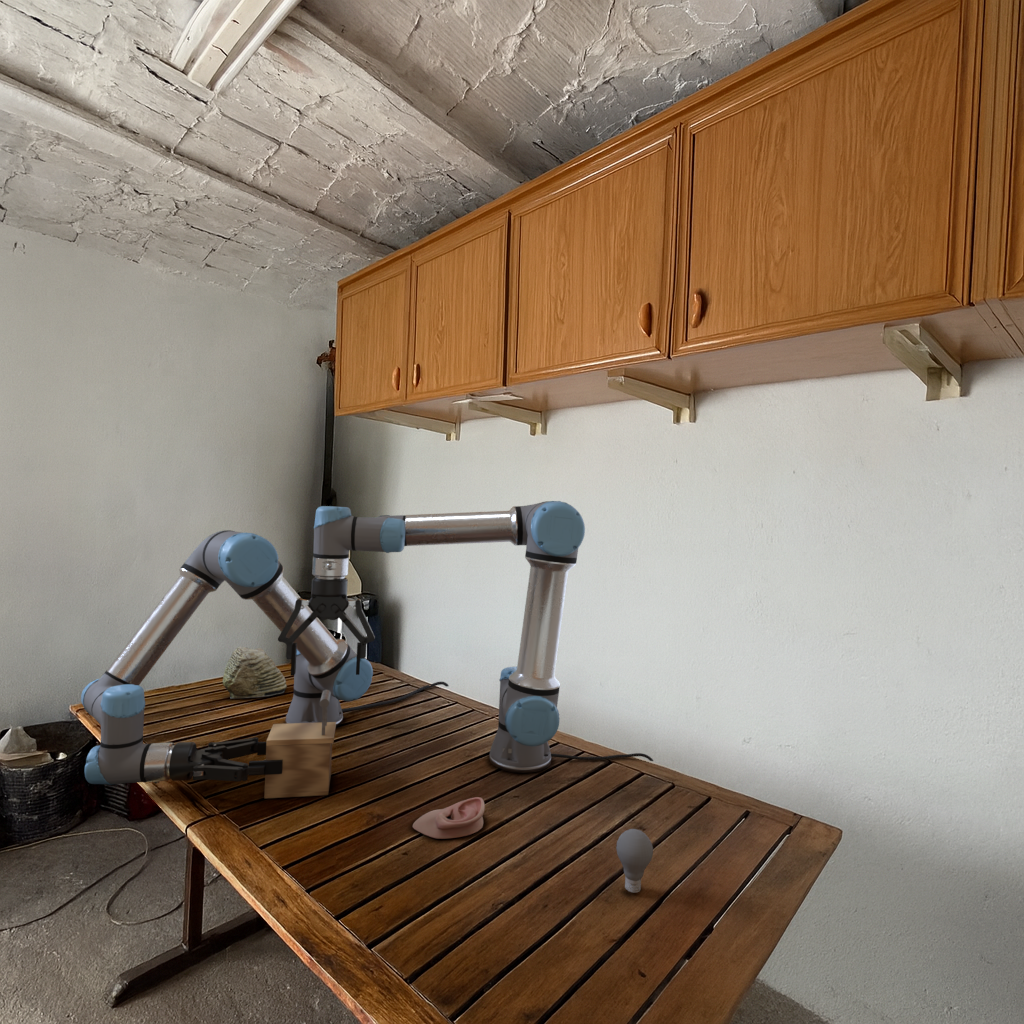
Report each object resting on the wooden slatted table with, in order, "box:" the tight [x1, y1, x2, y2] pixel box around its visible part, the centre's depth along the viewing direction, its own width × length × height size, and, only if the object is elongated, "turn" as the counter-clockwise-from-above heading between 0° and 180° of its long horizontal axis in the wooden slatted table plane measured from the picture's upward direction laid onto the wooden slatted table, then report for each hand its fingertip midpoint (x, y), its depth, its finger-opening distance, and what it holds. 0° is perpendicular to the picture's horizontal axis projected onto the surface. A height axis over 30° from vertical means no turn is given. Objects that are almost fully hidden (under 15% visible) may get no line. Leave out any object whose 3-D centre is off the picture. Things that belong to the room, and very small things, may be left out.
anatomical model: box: [412, 796, 486, 840], centre depth 124 cm, size 13×4×12 cm
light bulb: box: [615, 828, 654, 894], centre depth 106 cm, size 6×6×10 cm
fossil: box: [222, 646, 288, 699], centre depth 198 cm, size 9×18×15 cm, turn 132°
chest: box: [263, 743, 333, 799], centre depth 138 cm, size 13×10×11 cm
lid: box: [265, 690, 337, 746], centre depth 138 cm, size 14×10×9 cm
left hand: (285, 756), depth 137 cm, fingers closed on chest, 10 cm apart
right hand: (325, 673), depth 139 cm, fingers open, 13 cm apart
